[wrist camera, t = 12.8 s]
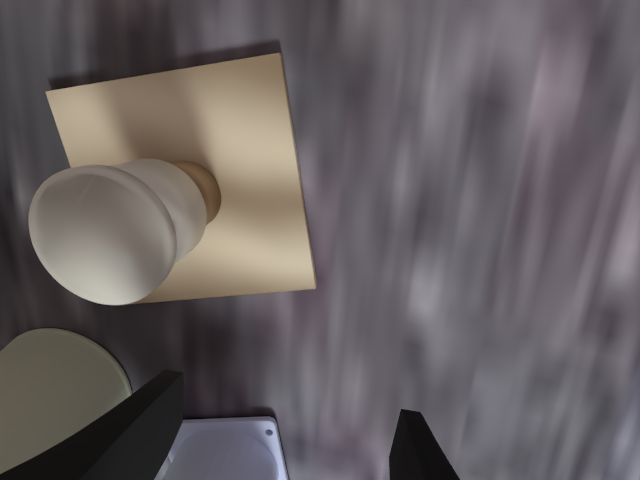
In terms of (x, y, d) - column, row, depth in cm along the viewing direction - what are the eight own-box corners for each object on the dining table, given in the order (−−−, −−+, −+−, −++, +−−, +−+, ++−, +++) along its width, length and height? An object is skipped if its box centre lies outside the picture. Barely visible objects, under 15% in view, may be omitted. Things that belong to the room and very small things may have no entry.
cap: (117, 133, 16) (43, 139, 12) (227, 185, 16) (188, 208, 12) (90, 234, 18) (17, 268, 14) (190, 280, 18) (145, 326, 14)
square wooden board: (316, 283, 22) (308, 320, 18) (123, 300, 23) (78, 337, 19) (282, 54, 18) (262, 39, 14) (54, 92, 20) (-19, 87, 16)
